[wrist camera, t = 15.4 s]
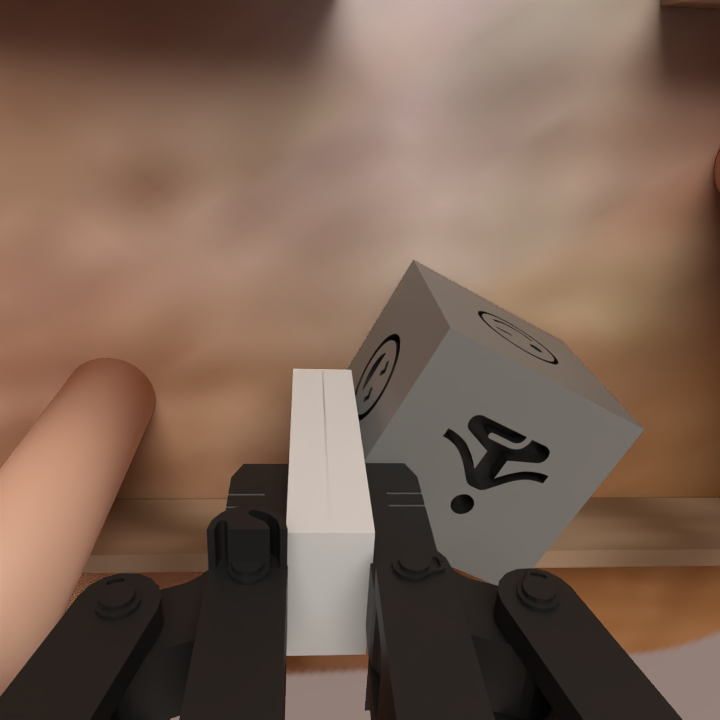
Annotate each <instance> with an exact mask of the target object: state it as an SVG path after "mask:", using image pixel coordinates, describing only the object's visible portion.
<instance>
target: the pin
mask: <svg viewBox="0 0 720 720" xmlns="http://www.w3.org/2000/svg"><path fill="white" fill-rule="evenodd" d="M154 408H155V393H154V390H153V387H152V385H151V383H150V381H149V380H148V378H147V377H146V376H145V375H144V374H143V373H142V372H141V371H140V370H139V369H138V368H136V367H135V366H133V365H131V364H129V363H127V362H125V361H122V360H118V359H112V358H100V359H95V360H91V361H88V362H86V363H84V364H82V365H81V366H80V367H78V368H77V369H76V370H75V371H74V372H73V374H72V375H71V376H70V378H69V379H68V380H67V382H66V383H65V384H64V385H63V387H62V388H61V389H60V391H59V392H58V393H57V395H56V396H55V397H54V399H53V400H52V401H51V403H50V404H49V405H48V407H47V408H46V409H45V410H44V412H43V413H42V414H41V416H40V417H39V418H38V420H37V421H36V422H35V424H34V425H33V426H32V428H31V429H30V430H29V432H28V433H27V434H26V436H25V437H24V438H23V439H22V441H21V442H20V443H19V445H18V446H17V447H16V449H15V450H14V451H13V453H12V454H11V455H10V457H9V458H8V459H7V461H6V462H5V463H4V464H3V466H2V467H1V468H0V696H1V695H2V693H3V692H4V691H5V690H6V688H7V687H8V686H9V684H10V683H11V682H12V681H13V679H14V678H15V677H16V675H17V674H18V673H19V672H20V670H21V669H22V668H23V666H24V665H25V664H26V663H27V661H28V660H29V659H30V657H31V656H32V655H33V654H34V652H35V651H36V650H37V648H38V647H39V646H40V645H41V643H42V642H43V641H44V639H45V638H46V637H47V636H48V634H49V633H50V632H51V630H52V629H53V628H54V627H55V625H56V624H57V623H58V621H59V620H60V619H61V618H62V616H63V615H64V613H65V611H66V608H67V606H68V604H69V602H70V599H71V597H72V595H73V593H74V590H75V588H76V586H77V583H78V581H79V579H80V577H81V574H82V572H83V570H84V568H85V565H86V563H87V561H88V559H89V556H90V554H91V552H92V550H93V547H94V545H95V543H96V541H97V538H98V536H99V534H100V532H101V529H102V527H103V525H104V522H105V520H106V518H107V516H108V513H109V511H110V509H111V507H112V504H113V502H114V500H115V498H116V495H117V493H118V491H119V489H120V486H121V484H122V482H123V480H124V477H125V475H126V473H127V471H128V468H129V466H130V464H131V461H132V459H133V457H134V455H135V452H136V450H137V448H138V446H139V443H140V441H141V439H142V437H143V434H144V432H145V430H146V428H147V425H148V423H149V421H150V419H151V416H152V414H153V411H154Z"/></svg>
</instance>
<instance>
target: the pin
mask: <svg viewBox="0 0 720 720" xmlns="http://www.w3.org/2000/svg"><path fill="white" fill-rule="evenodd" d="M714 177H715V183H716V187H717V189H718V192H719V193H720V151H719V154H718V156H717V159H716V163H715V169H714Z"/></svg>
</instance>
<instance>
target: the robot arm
mask: <svg viewBox="0 0 720 720" xmlns="http://www.w3.org/2000/svg"><path fill="white" fill-rule="evenodd" d="M207 549H208V570H207V571H206V572H205V573H203V574H202V575H201V576H199V577H198V578H196V579H194V580H192V581H190V582H187V583H184V584H181V585H178V586H174V587H170V588H166V589H162V590H160V589H159V586H158V585H157V584H156V583H155V582H154V581H153V580H152V579H151V578H148V577H145V576H142V575H139V574H118V575H113V576H109V577H105V578H103V579H101V580H99V581H97V582H95V583H93V584H91V585H90V586H88V587H87V588H86V589H85V590H84V591H83V592H82V593H81V594H80V595H79V596H78V597H77V598H76V600H75V601H74V602H73V603H72V605H71V606H70V607H69V609H68V610H67V611H66V612H65V614H64V615H63V616H62V618H61V619H60V620H59V621H58V623H57V624H56V625H55V627H54V628H53V629H52V630H51V632H50V633H49V634H48V636H47V637H46V638H45V639H44V641H43V642H42V643H41V645H40V646H39V647H38V648H37V650H36V651H35V652H34V654H33V655H32V656H31V657H30V659H29V660H28V661H27V663H26V664H25V665H24V666H23V668H22V669H21V670H20V672H19V673H18V674H17V675H16V677H15V678H14V679H13V681H12V682H11V683H10V684H9V686H8V687H7V688H6V690H5V691H4V692H3V693H2V695H1V696H0V720H170V719H171V718H174V717H176V716H180V719H179V720H285V696H286V694H285V693H286V656H306V655H361V654H366V647H367V644H368V654H369V663H368V676H367V688H366V689H367V690H366V701H365V710H370V714H371V720H682V718H680V716H679V715H678V714H677V713H676V711H675V710H674V709H673V708H672V707H671V705H670V704H669V703H668V702H667V701H666V699H665V698H664V697H663V696H662V695H661V694H660V692H659V691H658V690H657V689H656V688H655V686H654V685H653V684H652V683H651V682H650V680H649V679H648V678H647V677H646V676H645V674H644V673H643V672H642V671H641V670H640V669H639V667H638V666H637V665H636V664H635V663H634V661H633V660H632V659H631V658H630V657H629V655H628V654H627V653H626V652H625V651H624V650H623V648H622V647H621V646H620V645H619V644H618V642H617V641H616V640H615V639H614V638H613V636H612V635H611V634H610V633H609V632H608V631H607V629H606V628H605V627H604V626H603V625H602V623H601V622H600V621H599V620H598V619H597V617H596V616H595V615H594V614H593V613H592V611H591V610H590V609H589V608H588V607H587V606H586V604H585V603H584V602H583V601H582V600H581V598H580V597H579V596H578V595H577V594H576V592H575V591H574V590H573V589H572V588H571V587H570V586H569V585H568V584H567V583H565V582H564V581H563V580H562V579H561V578H559V577H557V576H555V575H553V574H551V573H549V572H546V571H542V570H537V569H533V568H524V569H516V570H513V571H510V572H508V573H506V574H505V575H504V576H503V577H502V578H501V579H500V580H499V584H498V586H497V585H493V584H489V583H484V582H480V581H476V580H473V579H470V578H467V577H464V576H462V575H460V574H458V573H456V572H455V571H453V570H452V567H451V566H450V564H449V562H448V560H447V559H446V557H445V556H443V555H442V554H441V553H440V552H438V551H437V548H436V544H435V541H434V537H433V533H432V529H431V526H430V522H429V518H428V515H427V511H426V507H425V503H424V500H423V496H422V494H421V489H420V485H419V481H418V477H417V476H416V475H415V474H414V473H413V472H412V471H411V470H410V469H409V467H408V466H407V465H406V464H405V463H365V460H364V454H363V447H362V440H361V433H360V426H359V419H358V412H357V406H356V399H355V392H354V385H353V378H352V371H351V370H334V369H293V388H292V410H291V431H290V453H289V464H243V465H242V466H241V467H240V469H239V470H238V471H237V472H236V473H235V474H234V475H233V476H232V477H231V483H230V488H229V496H228V499H227V505H226V510H225V511H224V512H221V513H220V514H219V515H217V516H216V517H215V518H214V519H212V520H211V522H210V524H209V526H208V528H207Z"/></svg>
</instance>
